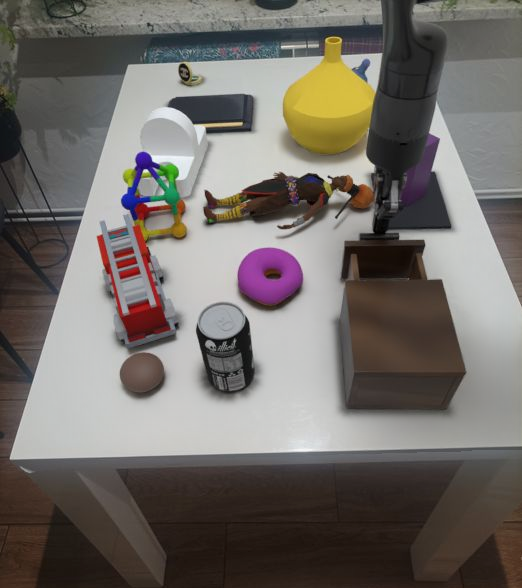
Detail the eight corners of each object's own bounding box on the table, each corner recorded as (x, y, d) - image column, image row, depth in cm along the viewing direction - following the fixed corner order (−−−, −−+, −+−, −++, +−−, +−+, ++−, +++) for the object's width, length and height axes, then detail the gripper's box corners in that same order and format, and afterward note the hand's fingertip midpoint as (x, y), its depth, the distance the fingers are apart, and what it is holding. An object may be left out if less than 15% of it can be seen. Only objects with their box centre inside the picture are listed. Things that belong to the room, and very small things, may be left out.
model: (118, 245, 82) (113, 163, 71) (126, 211, 88) (123, 132, 77) (185, 252, 83) (190, 173, 73) (187, 219, 90) (193, 142, 79)
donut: (267, 319, 72) (265, 299, 68) (225, 284, 76) (221, 263, 73) (315, 285, 75) (316, 264, 72) (272, 253, 80) (271, 232, 76)
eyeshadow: (205, 79, 118) (202, 58, 114) (191, 87, 116) (188, 66, 112) (192, 75, 120) (189, 53, 116) (178, 83, 118) (175, 61, 114)
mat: (434, 173, 91) (434, 171, 91) (451, 228, 82) (451, 226, 81) (371, 175, 92) (371, 172, 91) (380, 229, 82) (381, 227, 82)
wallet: (254, 89, 110) (251, 124, 101) (254, 98, 112) (251, 132, 103) (169, 92, 111) (158, 127, 102) (170, 100, 113) (160, 135, 104)
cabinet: (339, 321, 71) (345, 280, 64) (426, 321, 70) (442, 279, 63) (346, 408, 62) (354, 372, 55) (446, 409, 61) (466, 372, 54)
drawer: (338, 255, 78) (342, 221, 72) (410, 254, 77) (419, 220, 71) (346, 342, 67) (351, 310, 62) (429, 342, 66) (442, 310, 61)
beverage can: (232, 347, 69) (223, 290, 59) (264, 373, 66) (260, 318, 56) (198, 374, 66) (182, 320, 57) (229, 403, 63) (218, 350, 54)
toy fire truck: (157, 258, 81) (142, 210, 73) (184, 339, 70) (171, 293, 62) (105, 273, 79) (84, 225, 71) (125, 358, 69) (103, 313, 60)
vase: (363, 116, 104) (376, 16, 89) (378, 164, 94) (395, 60, 78) (280, 121, 105) (279, 22, 89) (285, 170, 94) (284, 67, 78)
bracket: (188, 197, 90) (177, 141, 81) (138, 195, 91) (121, 139, 82) (209, 142, 101) (201, 87, 92) (163, 141, 102) (150, 86, 93)
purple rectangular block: (412, 188, 88) (426, 131, 79) (424, 195, 86) (440, 138, 77) (393, 199, 86) (405, 142, 77) (406, 207, 85) (419, 150, 76)
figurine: (204, 170, 88) (367, 138, 84) (216, 206, 95) (367, 178, 90) (200, 224, 79) (382, 192, 75) (213, 260, 86) (382, 232, 81)
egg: (120, 398, 65) (111, 383, 61) (127, 363, 68) (119, 346, 65) (164, 397, 64) (157, 381, 61) (169, 361, 68) (163, 345, 65)
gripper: (365, 96, 64) (351, 203, 78) (375, 152, 56) (358, 260, 70) (422, 95, 63) (398, 202, 77) (440, 151, 56) (409, 259, 70)
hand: (379, 230), depth 74 cm, fingers closed
